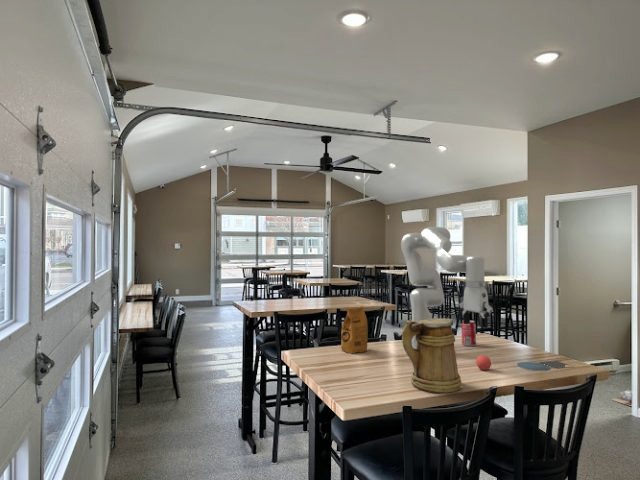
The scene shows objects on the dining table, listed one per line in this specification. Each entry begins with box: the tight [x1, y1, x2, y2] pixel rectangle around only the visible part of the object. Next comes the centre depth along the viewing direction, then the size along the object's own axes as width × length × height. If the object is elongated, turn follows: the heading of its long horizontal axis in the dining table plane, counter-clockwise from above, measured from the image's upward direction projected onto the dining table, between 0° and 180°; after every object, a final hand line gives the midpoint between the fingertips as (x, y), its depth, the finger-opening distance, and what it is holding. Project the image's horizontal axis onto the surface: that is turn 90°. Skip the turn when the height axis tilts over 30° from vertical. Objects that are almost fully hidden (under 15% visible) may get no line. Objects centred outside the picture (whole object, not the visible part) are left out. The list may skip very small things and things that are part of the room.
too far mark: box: [539, 360, 569, 369], centre depth 188 cm, size 10×10×1 cm
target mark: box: [516, 361, 551, 371], centre depth 186 cm, size 13×13×1 cm
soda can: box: [461, 319, 477, 348], centre depth 225 cm, size 7×7×13 cm
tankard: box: [401, 317, 463, 394], centre depth 158 cm, size 18×24×25 cm
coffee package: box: [340, 305, 369, 355], centre depth 211 cm, size 10×12×22 cm
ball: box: [475, 355, 492, 371], centre depth 180 cm, size 6×6×6 cm
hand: (475, 325), depth 178 cm, fingers open, 9 cm apart
